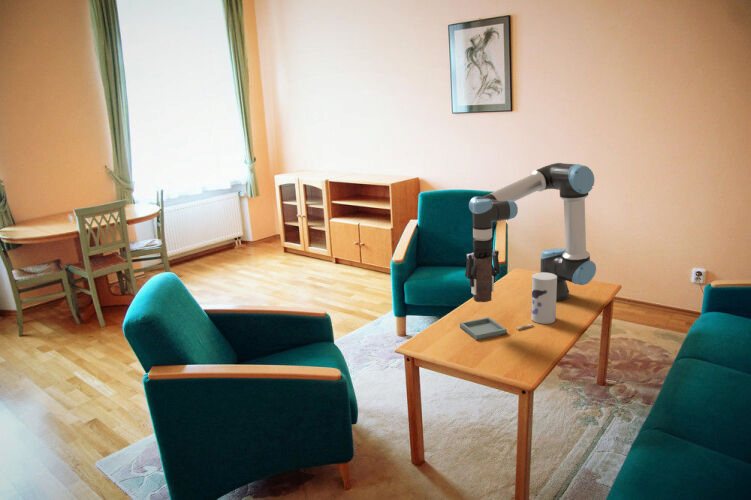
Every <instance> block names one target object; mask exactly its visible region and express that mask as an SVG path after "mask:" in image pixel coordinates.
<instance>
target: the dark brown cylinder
mask: <svg viewBox="0 0 751 500" xmlns="http://www.w3.org/2000/svg"><path fill="white" fill-rule="evenodd" d="M473 263H474V265H476V266H477V268H476V272H477V273H476V276H475V278H474V279H476V295H474V294H472V295H473V296H472V297H473V301H475V302H476V303H488V302H491V301H492V294H493V292H492V265H493V257H492V254H491V255H490V256H485V257H483V258H482V259H476V258H475V257H474V256H473Z"/></svg>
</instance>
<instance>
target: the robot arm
mask: <svg viewBox="0 0 751 500" xmlns="http://www.w3.org/2000/svg"><path fill="white" fill-rule="evenodd" d="M594 185H595V175H594V172H593V171H592V169H590V167H589V166H587V165H583V164H579V163H577V164H576V163H565V162H564V163H563V162H556V163H551V164H548V165H545V166H543V167H541V168H538V169H536V170H533V171H532V172H531V173H530V175H528V176H526V177H524V178H522V179H521V178H520V179H519V180H516V181H514V182H513V183H510V184H508V185H506V186H504V187H501V188H500V189H497V190H495V191H492V192H491V193H488V194H486V195H484V196H479V195H478V196H473V197H472V198H471V199H470V200H469V202H468V209H469V210H470V212H471V213H472V247H473V250H472V252H471V253H466V254H465V257H466V264H465V274H464V278H466V279H468V280H469V287H470V288H471V294H472V295H473V294H474V295H476V279H474V278H475V276H476V273H477V272H476V268H477V266H476V265H474V262H473V260H474V257H475V258H476V259H482V258H483V257H485V256H490V255H492V293H494V292H495V291H494V290H495V286H494V285H495V283H496V277H497V276H498V275H499V274H501V269H500V262H499V260H500V259H499V253H500V252H499V250H497V249H492V248H493V239H492V238H493V223H495V222H501V221H508V220H512V219H514V218H515V217H516V216H517V215H518V210H519V209H518V204H517V203H516V201H518V200H521V199H522V198H525V197H527V196H529V195H531V194H533V193H536V192H543V191H547V190H557V191H558V190H559V197H560V199H561V200H563V213H564V214H563V215H564V216H563V217H564V220H563V221H564V241H565V243H564V245H565V248H559V247H558V248H557V247H556V248H547V249H545V250H542V252H541V255H540V273H542V272H544V273H552V274H555V275H556V276H557V293H556V302H559V301H560V302H561V301H565V300H568V299H569V298H570V290H569V287H568V284H567V282H569V283H572V284H574V285H579V286H584V285H587V284H589V283H590V282H591V281H592V280H593V278H594V277H595V275H596V272H597V266H596V265H597V264H596V263H595V262H594V261H593V260H591V254H590V252H588V251H587V236H586V235H587V234H586V233H587V232H586V199H587V198H588V196H589V193H590V192H591V191H592V190H593V187H594Z"/></svg>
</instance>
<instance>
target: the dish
mask: <svg viewBox="0 0 751 500" xmlns="http://www.w3.org/2000/svg"><path fill="white" fill-rule="evenodd" d="M459 328H460V329H461V330H462V331H463V332H465V333H466V334H467V335H469V336H470V337H471V338H473V339H474V340H475V341H480V340H485V339H489V338H495V337H500V336H504V335H507V333H508V332H507V330H508V329H507V328H506V327H504V326H503V325H501V324H499V322H497V321H495V320H494V319H493V318H491V317H489V316H487V317H483V318H477V319H473V320H472V319H471V320H466V321H463V322H459Z"/></svg>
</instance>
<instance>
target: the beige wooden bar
mask: <svg viewBox="0 0 751 500" xmlns="http://www.w3.org/2000/svg"><path fill="white" fill-rule="evenodd" d="M533 327H534V324H533V323H529V324H524V325H522V326H518V327H515V328H516V331H521V330H526V329H530V328H533Z"/></svg>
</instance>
